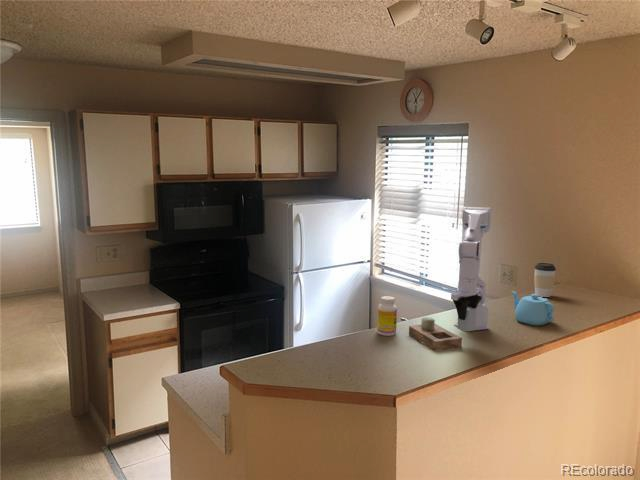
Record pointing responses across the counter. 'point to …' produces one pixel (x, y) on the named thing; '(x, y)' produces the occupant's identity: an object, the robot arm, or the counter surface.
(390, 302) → the supplement bottle
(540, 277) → the coffee cup
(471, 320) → the peg
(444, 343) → the base
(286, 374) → the counter surface
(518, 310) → the teapot
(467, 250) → the robot arm
